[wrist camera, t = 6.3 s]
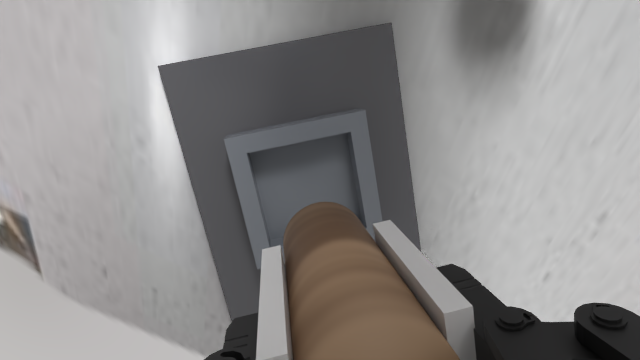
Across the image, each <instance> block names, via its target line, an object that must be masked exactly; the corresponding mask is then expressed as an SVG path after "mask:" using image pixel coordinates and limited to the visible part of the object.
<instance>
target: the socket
mask: <svg viewBox="0 0 640 360" xmlns="http://www.w3.org/2000/svg"><path fill="white" fill-rule="evenodd" d="M158 68H159V72H160V75H161V79H162V82H163V85H164V89H165V92H166V96H167V99H168V103H169V106H170V110H171V113H172V117H173V120H174V123H175V127H176V130H177V134H178V137H179V141H180V144H181V148H182V151H183V154H184V158H185V161H186V165H187V168H188V172H189V175H190V179H191V182H192V186H193V189H194V192H195V196H196V199H197V203H198V206H199V210H200V213H201V217H202V220H203V223H204V227H205V230H206V234H207V237H208V241H209V244H210V248H211V251H212V254H213V258H214V261H215V265H216V268H217V272H218V275H219V279H220V282H221V286H222V289H223V292H224V296H225V299H226V303H227V306H228V310H229V313H230V317H231V320H232V321H233V320H234V318H237V317H241V316H245V315H250V314H254V313H258V312H259V296H260V278H261V261H262V249H266V248H270V247H274V246H279V245H280V246H281V250H282V254H283V258H284V247H283V238H284V233H285V229H286V227H287V225H288V223H289V221H290V220H291V219H292V217H293V216H294V215H295V214H296V213H297V212H298V211H300V210H301V209H302V208H304V207H306V206H308V205H310V204H313V203H317V202H334V203H338V204H341V205H343V206H345V207H347V208H348V209H350V210H351V211H352V212H353V213H354V214H355V215H356V216H357V217H358V219H359V220H360V222H361V223H362V224H363V226H364V227H365V228H366V230H367V231H368V233H369V234H370V235H371V237H372V238H373V239H374V241H375V235H374V229H373V224H374V223H378V222H383V221H387V220H391V221H392V222H393V223H394V224H395V225H396V227H397V228H398V229H399V230H400V231H401V232H402V233H403V234H404V235H405V236H406V237H407V238H408V239H409V240H410V241H411V242H412V243H413V244H414V245H415V246H416V247H417V248H418V249H419V251H420V252H421V248H420V241H419V233H418V225H417V217H416V210H415V202H414V194H413V186H412V179H411V171H410V163H409V155H408V147H407V140H406V132H405V124H404V116H403V109H402V101H401V93H400V85H399V78H398V70H397V62H396V54H395V47H394V39H393V31H392V23H387V24H381V25H376V26H370V27H365V28H360V29H354V30H349V31H344V32H338V33H333V34H327V35H322V36H317V37H311V38H306V39H301V40H295V41H290V42H284V43H279V44H274V45H268V46H263V47H258V48H252V49H247V50H241V51H236V52H231V53H225V54H220V55H215V56H209V57H204V58H198V59H193V60H188V61H182V62H177V63H171V64H166V65H161V66H158ZM375 242H376V241H375ZM284 263H285V259H284Z"/></svg>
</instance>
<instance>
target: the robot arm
mask: <svg viewBox="0 0 640 360" xmlns="http://www.w3.org/2000/svg"><path fill="white" fill-rule="evenodd" d="M373 229H374V235H375V241H376V244H377V245H378V246H379V248H380V249H381V251H382V252H383V253H384V255H385V256H386V257H387V259H388V260H389V262H390V263H391V264H392V266H393V267H394V268H395V270H396V271H397V273H398V274H399V275H400V277H401V278H402V279H403V281H404V282H405V284H406V285H407V286H408V288H409V289H410V291H411V292H412V293H413V295H414V296H415V297H416V299H417V300H418V302H419V303H420V304H421V306H422V307H423V308H424V310H425V311H426V313H427V314H428V315H429V317H430V318H431V320H432V321H433V322H434V324H435V325H436V326H437V328H438V329H439V331H440V332H441V333H442V335H443V336H444V337H445V339H446V340H447V342H448V343H449V344H450V346H451V347H452V349H453V350H454V351H455V353H456V354H457V355H458V357H459V359H460V360H640V316H638V315H636V314H635V313H633V312H631V311H629V310H626V309H624V308H622V307H619V306H615V305H611V304H606V303H589V304H584V305H582V306H580V307H578V308H577V309H576V311H575V313H574V322H541V321H540V320H539V319H538V318H537V317H536V316H535V315H534V314H532V313H531V312H528V311H526V310H524V309H521V308H516V307H507V306H505V305H504V304H503V303H502V302H501V301H500V300H499V299H498V298H497V297H495V296H494V295H493V294H492V293H491V292H490V291H489V290H488V289H486V288H485V287H484V286H482V285H481V283H480V282H479V281H478V280H476V279H474V277H473V276H472V275H471V274H470V273H469V272H467V271H466V270H465V269H463V268H461V267H458V266H456V265H453V264H449V265H445V266H441V267H437V268H436V267H435V266H434V265H433V264H432V263H431V262H430V261H429V260H428V259H427V258H426V257H425V256H424V255H423V254H422V253H421V252H420V251H419V249H418V248H417V247H416V246H415V245H414V244H413V243H412V242H411V241H410V240H409V239H408V238H407V237H406V236H405V235H404V234H403V233H402V232H401V231H400V230H399V229H398V228H397V227H396V225H395V224H394V223H393V222H392V221H391V220H387V221H383V222H378V223H374V224H373ZM204 360H293V354H292V341H291V329H290V317H289V305H288V293H287V281H286V269H285V263H284V258H283V254H282V250H281V246H280V245H279V246H274V247H270V248H266V249H262V261H261V278H260V296H259V312H258V313H254V314H250V315H245V316H241V317H237V318H234V320H233V321H232V323H231V324H230V325H229V327H228V328H227V330H226V336H225V343H224V346H223V349H222V350H219V351H217V352H215V353H213V354H211V355H209V356H208V357H207V358H206V359H204Z"/></svg>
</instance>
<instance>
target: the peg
mask: <svg viewBox="0 0 640 360" xmlns="http://www.w3.org/2000/svg"><path fill="white" fill-rule="evenodd" d="M283 247H284V259H285V269H286V281H287V293H288V305H289V317H290V329H291V341H292V354H293V360H460V359H459V357H458V355H457V354H456V353H455V351H454V350H453V349H452V347H451V346H450V344H449V343H448V342H447V340H446V339H445V337H444V336H443V335H442V333H441V332H440V331H439V329H438V328H437V326H436V325H435V324H434V322H433V321H432V320H431V318H430V317H429V315H428V314H427V313H426V311H425V310H424V308H423V307H422V306H421V304H420V303H419V302H418V300H417V299H416V297H415V296H414V295H413V293H412V292H411V291H410V289H409V288H408V286H407V285H406V284H405V282H404V281H403V279H402V278H401V277H400V275H399V274H398V273H397V271H396V270H395V268H394V267H393V266H392V264H391V263H390V262H389V260H388V259H387V257H386V256H385V255H384V253H383V252H382V251H381V249H380V248H379V246H378V245H377V244H376V242H375V241H374V239H373V238H372V237H371V235H370V234H369V233H368V231H367V230H366V228H365V227H364V226H363V224H362V223H361V222H360V220H359V219H358V217H357V216H356V215H355V214H354V213H353V212H352V211H351V210H350V209H348V208H347V207H345V206H343V205H341V204H338V203H334V202H317V203H313V204H310V205H308V206H306V207H304V208H302V209H301V210H300V211H298V212H297V213H296V214H295V215H294V216H293V217H292V219H291V220H290V221H289V223H288V225H287V227H286V229H285V233H284V238H283Z"/></svg>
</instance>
